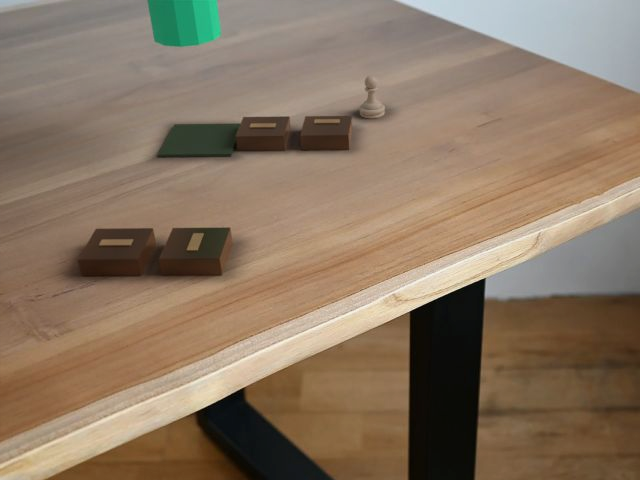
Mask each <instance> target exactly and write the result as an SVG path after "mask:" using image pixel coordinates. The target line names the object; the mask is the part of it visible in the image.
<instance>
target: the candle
mask: <svg viewBox="0 0 640 480" xmlns="http://www.w3.org/2000/svg"><path fill="white" fill-rule="evenodd" d="M146 2H147V6H148V13H149V18H150V23H151V29H152V35H153V42H154V43H156V44H159V45H162V46H164V47H175V48H177V47H178V48H179V47H180V48H183V47H193V46H201V45H203V44H207V43H210V42H213V41H215V40H217V39H218V38H219V37H220V36H222V29H221V22H220V14H219V6H218V0H147V1H146Z"/></svg>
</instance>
